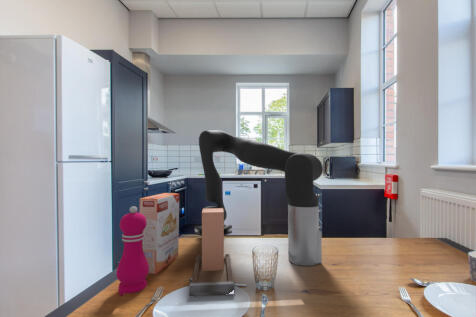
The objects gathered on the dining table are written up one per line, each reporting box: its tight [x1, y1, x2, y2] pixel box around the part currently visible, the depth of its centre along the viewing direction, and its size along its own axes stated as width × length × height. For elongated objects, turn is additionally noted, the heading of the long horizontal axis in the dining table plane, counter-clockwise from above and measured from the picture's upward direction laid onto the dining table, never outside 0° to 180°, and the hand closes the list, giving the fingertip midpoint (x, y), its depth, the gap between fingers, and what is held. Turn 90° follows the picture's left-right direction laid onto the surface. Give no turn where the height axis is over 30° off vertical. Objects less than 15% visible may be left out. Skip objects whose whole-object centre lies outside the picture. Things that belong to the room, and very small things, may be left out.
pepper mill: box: [116, 205, 149, 296], centre depth 61 cm, size 7×7×20 cm
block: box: [201, 207, 225, 271], centre depth 73 cm, size 6×6×16 cm
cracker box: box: [138, 192, 180, 275], centre depth 75 cm, size 14×6×21 cm, turn 168°
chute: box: [188, 253, 235, 298], centre depth 68 cm, size 10×22×3 cm, turn 5°
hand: (213, 237), depth 76 cm, fingers closed
